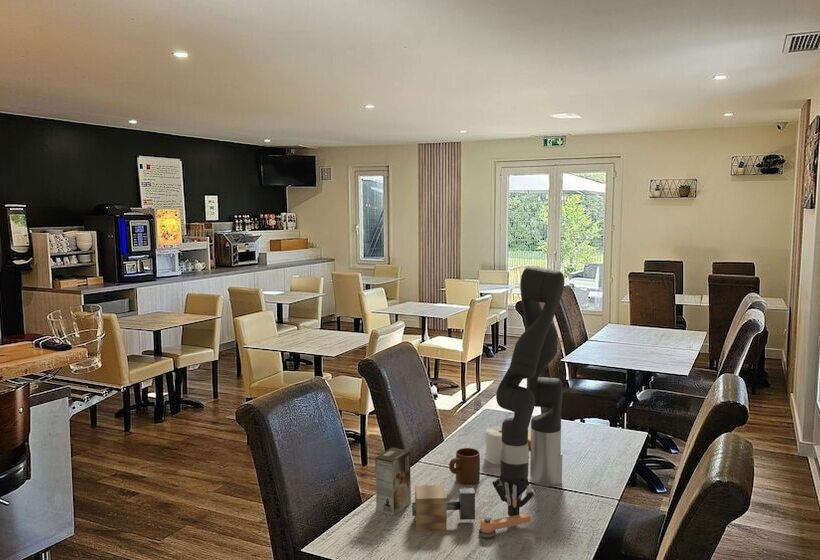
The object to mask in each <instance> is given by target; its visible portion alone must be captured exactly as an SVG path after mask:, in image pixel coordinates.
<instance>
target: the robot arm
mask: <svg viewBox="0 0 820 560" xmlns="http://www.w3.org/2000/svg"><path fill="white" fill-rule="evenodd" d="M519 284H520V288H519V289H520V298H521V304H522V310H523V318H524V332H523V333H522V334H521V335H520V336H519V337H518V339H517V341H516V342H515V346H514V348H513V353H512V356H511V360H510V364H509V366H508V369H507V371H506V372H505V374H504V376H503V377H502V379H501V381H500V383H499V385H498V387H497V389H496V395H495V398H496V399H495V401H496V402H497V405H498V406H499V407H500V408H502V409H504V410H507V411H510V412H512V413H514V414H513V417H508V418H506V419H504V420H503V421H502V424H501V426H502V443H501V457H500V467H499V469H500V475H499V478H496V479H494V480H493V481H492V486H493V488H494V489H495V491H496V493H497V495H498V496H499V498H500V500H501V501H502V502H505V503H506V505H507V517H510V516H515V515H519V514H520V508H522V507H523V506H525V505H527V503H528V502H529V501H530V500H532V499H533V498H534V497H535V495H536V494H537V490H536V489H533V488H532V487H531V486H530V482H532V484H535V485H537V486H538V487H539V486H541V487H555V486H559V485H562V484H563V453H562V452H561V451H562V450H561V448H562V446H561V445H562V443H561V442H562V441H561V440H562V406H563V405H562V403H563V392H564V391H563V390H564V388H563V386H564V385H563V382H562V380H561V379H560V378H558V377H544V376H540V375H541V373H542V371H544V370H545V368H546V367H548V366H549V365H550V363H551V362H552V361H554V359H555V357H556V355H557V353H558V333H557V330H556V327H555V326H554V323H553V320H554V317H555V314H556V312H557V310H558V307H559V305H560V301H561V298H562V297H563V292H564V288H565V276H564V274H563V272H561V271H559V270H556V269H552V268H551V269H550V268H545V267H539V266H531V265H530V266H527V267H525V268H524V269H523V270H522V273H521V276H520V283H519ZM540 303H543V304H544V305H543V308H542V307H541V304H540ZM525 379H526V387H523V386H520V384H521V383H522V381H523V380H525ZM536 407H537V408H550V410H548V411H547V412H544V413H540V414H537V415H535V416H533V413H534V410H535V408H536ZM532 416H533V417H532ZM529 426H530V431H531V449H530V448H528V431H529ZM529 455H530V456H529ZM529 460H530V461H529ZM529 462H530V467H529ZM529 468H530V470H529ZM529 474H530V475H529ZM529 478H530V479H529ZM529 480H530V481H529ZM524 492H525V496H524V497H523V498H522V496H523V494H524Z"/></svg>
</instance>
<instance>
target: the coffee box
mask: <svg viewBox="0 0 820 560" xmlns="http://www.w3.org/2000/svg"><path fill="white" fill-rule="evenodd" d="M374 460H375V462H374V463H375V500H376V503H375V504H376V505H375V507H376V508H375V509H376V511H378V512H381V513H383V514H386V515H387V514H388V515H391V516H395V515H397V514H398V513H400V512H401V511H402V510H403V509H405V508H406V507H407V506H408V505H409V506H410V504H412V496H411V495H412V493H411V492H412V491H411V490H412V489H411V486H412V485H411V451H410V450H407V449H401V448H397V447H390V448H389V449H387V450H385V451H384V452H382V453H381V454H379V455H377V456H375V459H374Z"/></svg>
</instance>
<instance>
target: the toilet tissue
mask: <svg viewBox="0 0 820 560" xmlns="http://www.w3.org/2000/svg"><path fill="white" fill-rule="evenodd" d="M501 443H502V425H494V426H493V425H492V426H489V427H487V428H486V429H485V460H486V461H487V462H489V463H490V464H493V465H500V457H501Z"/></svg>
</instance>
